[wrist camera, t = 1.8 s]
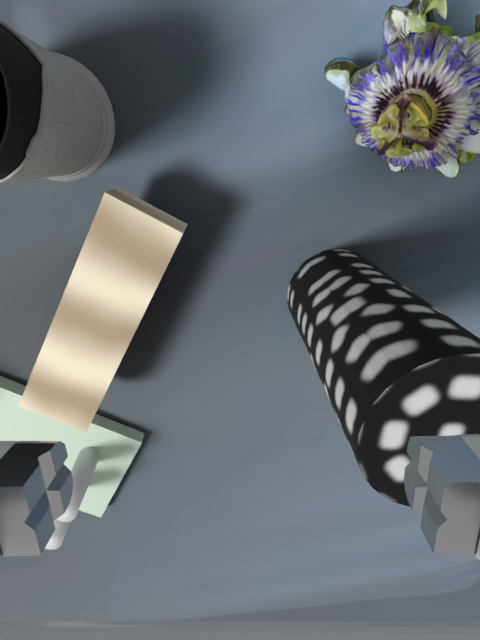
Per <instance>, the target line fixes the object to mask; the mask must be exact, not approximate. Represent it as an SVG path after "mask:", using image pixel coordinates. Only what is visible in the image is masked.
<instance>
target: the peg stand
mask: <svg viewBox="0 0 480 640" xmlns="http://www.w3.org/2000/svg"><path fill="white" fill-rule="evenodd" d="M25 388H26V386H24V385H22V384H19V383H17V382H14V381H12V380H9V379H7V378H4V377H2V376H0V441H61V442H62V443H64V444H65V446H66V450H67V454H68V457H67V459H66V460H65V462H64V463H63V464H64V465H65V466H66V467H67V468H68V469H69V470H70V471H71V472H72V477H73V493H72V497H71V501H70V504H69V506H68V508H67V509H66V511H65V513H64V514H63V515H61V516H60V517H59V518H57V519H56V520H55V521H54V525H55V531H54V533H53V535H52V536H51V538H50V540H49V542H48V543H47V545H46V547H45V549H57V548H59V547H60V546H61V544H62V541H63V539H64V537H65V534H66V532H67V529H68V527H69V525H70V522H71V521H72V520H73V519H75V517H76V515H77V512H78V510H80V511H83V512H86V513H89V514H92V515H95V516H98V517H101V516H102V514H103V513H104V511H105V509H106V507H107V505H108V504H109V502H110V500H111V498H112V496H113V494H114V493H115V491H116V489H117V487H118V485H119V484H120V482H121V480H122V478H123V476H124V475H125V473H126V471H127V469H128V467H129V465H130V464H131V462H132V460H133V458H134V456H135V455H136V453H137V451H138V449H139V447H140V446H141V444H142V441H143V437H144V434H145V433H143V432H141V431H138V430H136V429H133V428H131V427H128V426H125V425H123V424H120V423H118V422H115V421H113V420H110V419H108V418H105V417H103V416H100V415H98V414H95V416H94V418H93V420H92V422H91V424H90V426H89V428H88V430H87V432H84V431H81V430H79V429H76V428H74V427H71V426H68V425H66V424H63V423H60V422H58V421H55V420H53V419H50V418H47V417H45V416H42V415H40V414H37V413H34V412H32V411H29V410H27V409H24V408H21V407H19V403H20V401H21V398H22V396H23V393H24V391H25Z"/></svg>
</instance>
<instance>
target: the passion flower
mask: <svg viewBox="0 0 480 640" xmlns="http://www.w3.org/2000/svg"><path fill="white" fill-rule="evenodd" d="M419 3H421V10H420V13H418V5H419ZM433 8H436V9H437V12H438V13H439V15H440V16H441V17H443V18H444V20H445V19H446V18H447V0H412V1H411V2H410V4H408V5H407V6H405V7H398V6H395V5H392V6H391V7H390V8H389V10H388V11H387V13H386V14H385V17H384V22H383V26H384V27H383V51H382V55H381V57H380V58H379V59H378V60H377V61H375V62H374V63H372V64H370V65H369V66H367V67H359V66H357V65H356V64H355V63H354V62H353V60H351V59H347V58H335V59H333V60H332V61H330V62H329V63H328V64H327V65H326V67H325V78H326V79H327V80H328V81H330V82H331V83H333V84H334V85H335V86H336V87H337V88H339V89H340V90H342V91H344V92H345V103H346V104H347V106H346V108H345V113H346V114H349V115H350V121H351V124H352V125H353V127H354V128H356V129H357V131H358V132H357V134H356V137H355V142H356V143H357V144H359V145H361V146H364V147H370V148H371V151H374V150H375V152H376V154H377V155H382V157H381V160H387V162H388V165H389V168H390V169H391V170H392V171H394V172H396V171H400V170H401V173H402V170H404V169H405V168H406V167H408V166H409V176H411V173H410V170H413V171H415V168H416V167H424V168H425V169H426V170H427V169H428V168H429V167H432V168H435V169H437V170H439V172H440V173H442V174H443V175H445V176H446V177H451V178H454V177H455V176H456V175H457V173H458V172H459V171H458V170H459V166H458V161H459V162H460V163H463V164H468V163H471V162H472V160H473V159H474V157H475V155H476V154H480V15H477V16H476V24H475V28H476V31H475V34H472V35H470V36H465V37H461V38H460V37H459V36H456V35H455V33H454V31H453V29H452V28H451V27H449V26H442V25H439V24H437V23H436V22H435V20H434V17H433ZM426 16H427V19H428V21H426Z"/></svg>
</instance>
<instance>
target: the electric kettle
mask: <svg viewBox="0 0 480 640" xmlns="http://www.w3.org/2000/svg"><path fill="white" fill-rule="evenodd" d="M114 137H115V119H114V112H113V109H112V105H111V102H110V99H109V97H108V95H107V93H106V91H105V89H104V88H103V86H102V85H101V83H100V82H99V80H98V79H97V78H96V77H95V76H94V75H93V73H92V72H91V71H90V70H88V69H87V68H86V67H85V66H84V65H82V64H81V63H79V62H78V61H76V60H74V59H73V58H71V57H68V56H65V55H63V54H60V53H55V52H49V51H48V50H46V49H44V48H43V47H41V46H39V45H38V44H36V43H35V42H33V41H31V40H30V39H28V38H27V37H25V36H23V35H22V34H20V33H19V32H17V31H15V30H14V29H12V28H10V27H9V26H7V25H6V24H4V23H2V22H0V183H5V182H14V181H23V180H32V179H41V178H47V179H50V180H54V181H61V182H66V181H75V180H80V179H83V178H85V177H87V176H90V175H91V174H92V173H94V172H95V171H97V170H98V169H99V168H100V167H101V166H102V165H103V164H104V162H105V161H106V159H107V157H108V156H109V154H110V151H111V149H112V146H113V142H114Z"/></svg>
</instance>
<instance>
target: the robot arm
mask: <svg viewBox="0 0 480 640" xmlns="http://www.w3.org/2000/svg"><path fill="white" fill-rule="evenodd" d="M407 453H408V455H409V456H410V458H411V460H412V461H411V462H410V463H409V464H408V465H407V466H406V467H405V473H404V485H405V493H406V496H407V499H408V502H409V505H410V507H411V509H412V511H413V512H415V513H416V514H417V515H419V516H420V517H422V520H421V529H422V531H423V533H424V535H425V537H426V539H427V541H428V543H429V545H430V547H431V549H432V551H433V553H434V554H462V555H476V558H478V559H479V560H480V435H479V434H465V435H455V436H416V437H410V439H409V442H408V447H407ZM67 457H68V454H67V450H66V446H65V444H64V443H62V442H61V441H0V560H1V558H2V557H1V556H28V555H41V554H42V552H43V550H44V549H45V547H46V545H47V543H48V542H49V540H50V538H51V536H52V535H53V533H54V531H55V525H54V521H55V520H56V519H57V518H59V517H60V516H61V515H63V514H64V513H65V511H66V509H67V508H68V506H69V504H70V501H71V497H72V493H73V477H72V472H71V471H70V470H69V469H68V468H67V467H66V466H65V465H64V464H63V463H64V462H65V460H66V459H67ZM0 640H480V623H448V622H446V623H444V622H437V623H436V622H435V623H433V622H429V623H427V622H425V623H424V622H139V621H0Z"/></svg>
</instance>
